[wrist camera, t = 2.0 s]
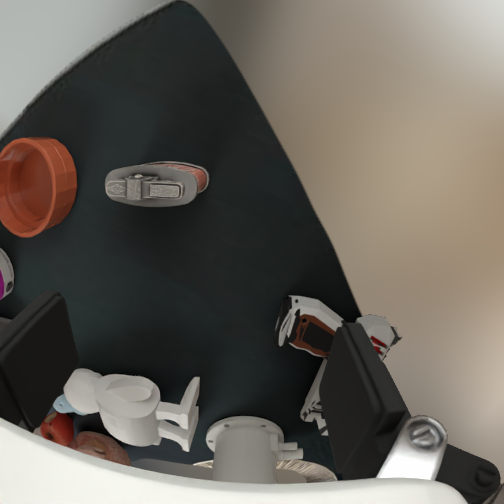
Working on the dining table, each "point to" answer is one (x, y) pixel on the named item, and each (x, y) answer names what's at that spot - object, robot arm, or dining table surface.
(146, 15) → the dining table surface
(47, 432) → the apple
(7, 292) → the supplement can
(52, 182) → the clay dish
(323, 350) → the toy gun
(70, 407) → the mechanical part
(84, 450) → the anatomical model
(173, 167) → the lighter
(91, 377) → the toy robot
